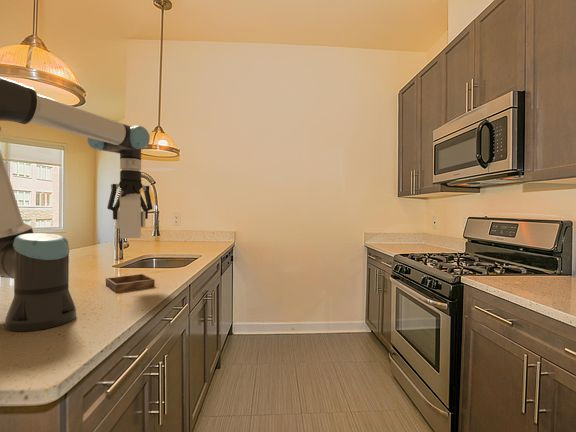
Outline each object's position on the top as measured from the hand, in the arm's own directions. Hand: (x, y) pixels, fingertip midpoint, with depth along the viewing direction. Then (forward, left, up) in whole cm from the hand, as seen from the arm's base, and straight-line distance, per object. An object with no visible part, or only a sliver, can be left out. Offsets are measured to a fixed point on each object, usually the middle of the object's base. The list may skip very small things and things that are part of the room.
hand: (130, 227), depth 126 cm
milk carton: (0, 0, -4) cm, 4 cm away
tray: (0, 0, -23) cm, 23 cm away
